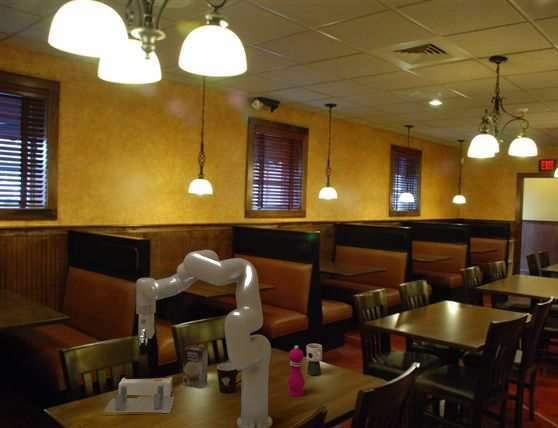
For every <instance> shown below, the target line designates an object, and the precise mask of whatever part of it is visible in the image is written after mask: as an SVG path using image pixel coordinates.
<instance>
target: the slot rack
mask: <svg viewBox="0 0 558 428" xmlns="http://www.w3.org/2000/svg"><path fill="white" fill-rule="evenodd" d="M174 402H175V396H170V397H163V386H158V388H157V394H155V395H154V397H137V398H127V386H122V387H121V395H119V394H116V396H115V397H113V398H111V399H110V401H109V402H108V404H107V406H106V407H105V409H104V410H103V413H104V412H162V413H170V414H171V412H172V409H171V408H173V406H174ZM172 405H173V406H172ZM170 411H171V412H170Z"/></svg>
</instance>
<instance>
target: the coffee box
mask: <svg viewBox="0 0 558 428" xmlns="http://www.w3.org/2000/svg"><path fill="white" fill-rule="evenodd" d="M182 355H183V356H182V357H183V359H182V361H183V366H182V386H183V387H187V386H188V387H189V388H196V389H203V388H204V387H205V386H206V385H207V384H208V372H209V371H208V367H209V365H208V363H209V362H208V360H209V359H208V358H209V357H208V356H209V347H207V346H202V345H191V344H189V345H187V346H185V347H184V348H183V354H182Z"/></svg>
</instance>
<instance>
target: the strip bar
mask: <svg viewBox="0 0 558 428" xmlns="http://www.w3.org/2000/svg"><path fill="white" fill-rule="evenodd" d="M122 386H127V395H141V396H142V395H143V396H144V395H145V396H147V395H148V396H149V395H155V394H157V388H158V386H163V396H167V397H171V396H170V395H172V393H171V392H173V376H169V377H168V378H163V377H155V378H134V379H133V378H130V379H127V378H126V377H122V379H121V380H120V382H119V384H118V395H121V387H122Z"/></svg>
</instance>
